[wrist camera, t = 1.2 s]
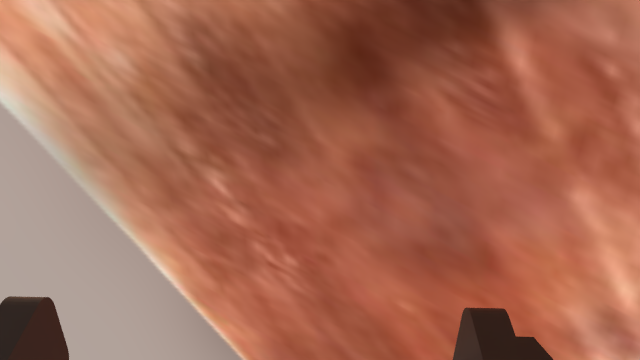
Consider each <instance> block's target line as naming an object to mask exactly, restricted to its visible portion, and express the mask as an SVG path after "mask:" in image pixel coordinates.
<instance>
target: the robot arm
mask: <svg viewBox="0 0 640 360" xmlns="http://www.w3.org/2000/svg"><path fill="white" fill-rule="evenodd" d="M0 360H69V353H68V348H67V345H66V341H65V338H64V335H63V332H62V329H61V325H60V322H59V318H58V315H57V312H56V309H55V305H54V303H53V301H52V300H51V299H50V298H49V297H7V298H6V299H4V300H3V301H2V303H1V304H0ZM453 360H553V359H552V358H551V356H550V355H549V354H548V353H547V352H546V351H545V350H544V348H543V347H542V346H541V345H540V344H539V343H538V342H537V341H536V339H535V338H534V337H516V336H515V333H514V330H513V327H512V325H511V322H510V319H509V316H508V313H507V312H506V310H505V309H497V308H465V309H464V311H463V314H462V318H461V323H460V328H459V333H458V337H457V342H456V347H455V352H454V357H453Z"/></svg>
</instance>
